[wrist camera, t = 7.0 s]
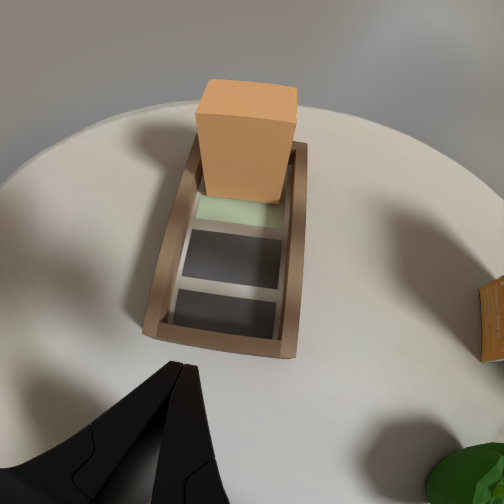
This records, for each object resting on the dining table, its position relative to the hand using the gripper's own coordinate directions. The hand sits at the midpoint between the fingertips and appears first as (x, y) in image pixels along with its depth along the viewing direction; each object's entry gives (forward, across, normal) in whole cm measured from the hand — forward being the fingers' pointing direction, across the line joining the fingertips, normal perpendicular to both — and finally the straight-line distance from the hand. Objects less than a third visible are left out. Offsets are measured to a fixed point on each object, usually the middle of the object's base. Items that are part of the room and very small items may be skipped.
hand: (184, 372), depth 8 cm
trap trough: (+17, 0, +1) cm, 17 cm away
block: (+19, 0, -3) cm, 19 cm away
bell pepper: (+2, -22, +16) cm, 28 cm away
